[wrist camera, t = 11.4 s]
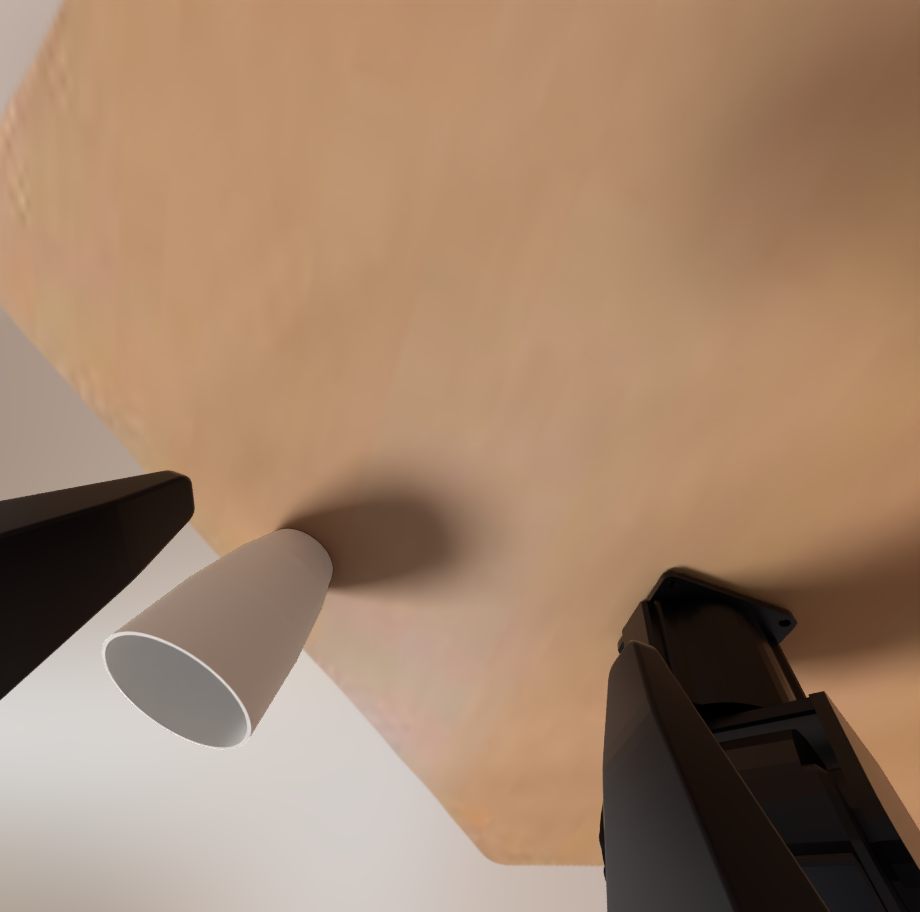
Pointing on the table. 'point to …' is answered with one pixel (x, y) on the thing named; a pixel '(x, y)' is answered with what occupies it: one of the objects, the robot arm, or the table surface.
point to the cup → (223, 639)
